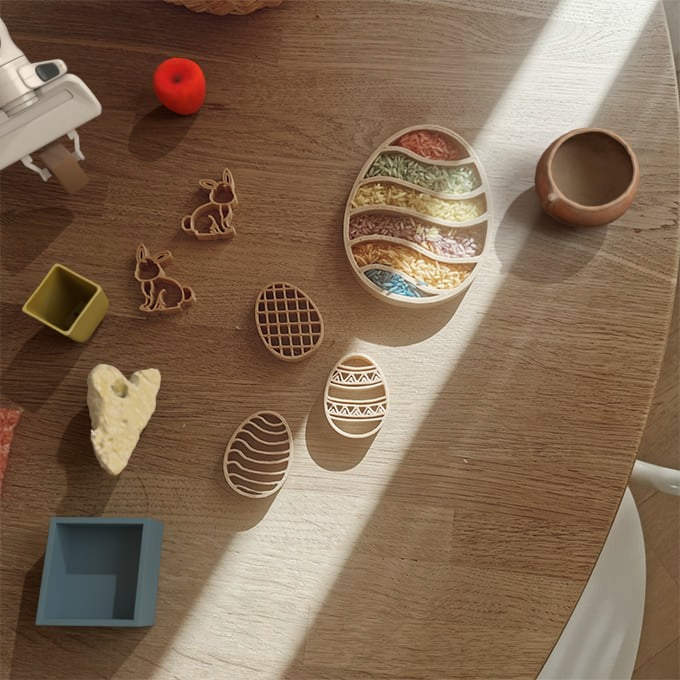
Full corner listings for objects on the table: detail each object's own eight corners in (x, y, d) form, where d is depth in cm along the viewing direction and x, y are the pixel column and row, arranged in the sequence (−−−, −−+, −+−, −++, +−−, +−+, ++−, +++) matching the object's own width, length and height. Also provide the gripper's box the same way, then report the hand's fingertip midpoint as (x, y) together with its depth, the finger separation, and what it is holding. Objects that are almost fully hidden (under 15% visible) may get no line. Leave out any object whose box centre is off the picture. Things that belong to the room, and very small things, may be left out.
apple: (152, 103, 130) (138, 72, 122) (192, 75, 131) (180, 43, 124) (182, 134, 127) (169, 105, 120) (222, 105, 129) (212, 75, 121)
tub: (56, 623, 100) (34, 625, 94) (70, 522, 105) (50, 517, 99) (154, 625, 100) (138, 626, 93) (163, 523, 104) (149, 517, 98)
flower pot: (90, 356, 114) (66, 336, 105) (46, 331, 116) (19, 309, 107) (122, 310, 116) (102, 287, 108) (79, 286, 118) (55, 261, 110)
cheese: (124, 360, 115) (39, 395, 104) (146, 342, 110) (59, 377, 99) (171, 445, 115) (91, 489, 104) (195, 431, 110) (113, 476, 99)
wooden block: (76, 167, 121) (57, 138, 114) (90, 182, 120) (72, 154, 113) (57, 182, 120) (36, 154, 113) (71, 197, 119) (51, 169, 112)
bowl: (520, 227, 117) (532, 194, 108) (538, 147, 122) (551, 108, 113) (620, 248, 115) (641, 217, 106) (633, 165, 120) (655, 128, 111)
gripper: (-55, 122, 105) (5, 206, 111) (70, 55, 109) (122, 139, 115) (-51, 121, 111) (7, 200, 117) (69, 56, 114) (118, 137, 120)
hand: (65, 169), depth 116 cm, fingers closed on wooden block, 4 cm apart
